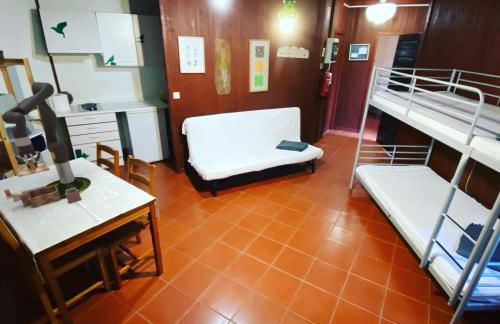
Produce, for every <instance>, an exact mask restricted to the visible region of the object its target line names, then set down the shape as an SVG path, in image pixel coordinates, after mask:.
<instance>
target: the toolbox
mask: <svg viewBox="0 0 500 324" xmlns="http://www.w3.org/2000/svg"><path fill="white" fill-rule="evenodd" d="M20 198H21V200H20V201H21V203H22V205H23V207H24V208H27V207H31V209H35V208H38V207H42V206H45V205H49V204H52V203H56V202H59V201H61V200H62V198H61V195H60V193H59V189H58V186H57V185H56V184H53V185H49V186H44V188H41V189H37V190H33V191H29V192H28V193H25V194H23V196H20Z"/></svg>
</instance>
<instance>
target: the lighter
mask: <svg viewBox="0 0 500 324" xmlns="http://www.w3.org/2000/svg"><path fill="white" fill-rule="evenodd" d="M64 194H65V196H66V200H67V204H73V203H76V202H79V201H82V197H81V193H80V189H77V188H76V187H71V188H69V189H66V190H65V193H64Z"/></svg>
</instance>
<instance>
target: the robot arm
mask: <svg viewBox="0 0 500 324" xmlns="http://www.w3.org/2000/svg"><path fill="white" fill-rule="evenodd" d="M31 92H32V95H31V96H29V97H26V98H24V99H22V100H21V101H20V102H19V103H18V104H17V105H15V106H14V107H12V108H10V109H8V110H6V111H5V112H4V113H3V114H2V121H3V122H4V123H6V124H8V125H9V124H10V125H15V127H13V128H11V130H10V131H11V134H12V137H13V141H14V144H15V146H16V149H17V152H18V155H15V156H14V158H15V159H16V161H18V162H19V163H20V164H22V165H26V167H28V168H29V169H31V168H30V166H29V162H28V160H30V159H32V160H33V162H34V165H35V168H36V167H37V164H38V163H37V162H39V161H40V157H41V156H42V155H41V154H42V153H41V151H37V150H35V148H34V146H33V142H32V141H31V137H30V135H28V134H29V133H28V131H27V119H26V116H27V115H29V114H30V113H31V112H32V111H33V110H34V109H35V108H36V107H37V110H38V112H39V116H40V121H41V125H42V127H43V132H44V135H45V136H44V137H45V143H46V148H47V150H48V151H49V152H51V153H52V154H54V158H53V163H54V166H55V170H56V172H57V176H58V179H59V182H60V183H61V184H64V185H66V184H71V183H73V182H75V181H76V179H75V175H74V173H73V170H72V167H71V164H70V160H69V156H70V155H69V151H68V148H67V145H66V144H65V143H64V142H61V141H59V139H58V137H57V130H58V126H59V121H58V117H57V115H56V112H55V111H54V110H53V109H52V107H50V105H49V104H48V102H47V101H46V100H47V99H48V98H50V97H52V96H54V93H55V88H54V86H53V84H51V83H49V82H41V81H38V82H37V81H35V82H34V81H33V83H32V84H31ZM35 156H36V158H35ZM22 158H23V159H24V160H23V159H22ZM74 180H75V181H74Z"/></svg>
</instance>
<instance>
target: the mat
mask: <svg viewBox="0 0 500 324" xmlns="http://www.w3.org/2000/svg"><path fill="white" fill-rule="evenodd" d="M44 187H45V185H43V186H42V185H41V186H39V187H36V188H31V189H28V190H23V191H21V192H22V193H23V194H25V193H28V192H29V191H33V190H37V189H41V188H44ZM12 199H13V202H18V201H21V198H20V196H19V197H15V198H12Z"/></svg>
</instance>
